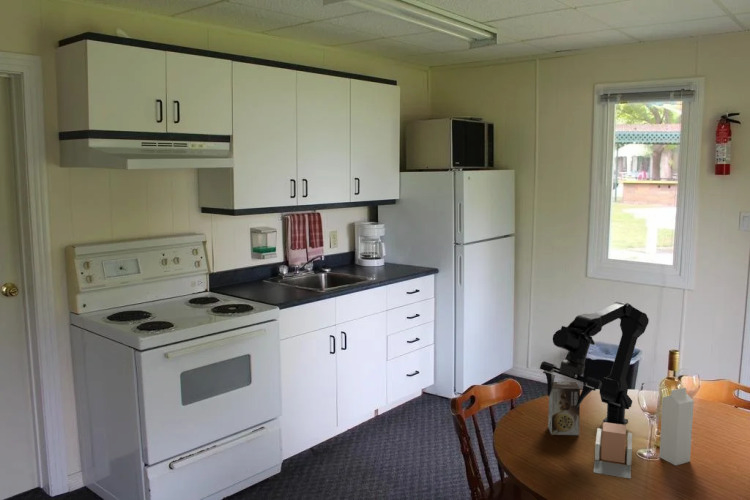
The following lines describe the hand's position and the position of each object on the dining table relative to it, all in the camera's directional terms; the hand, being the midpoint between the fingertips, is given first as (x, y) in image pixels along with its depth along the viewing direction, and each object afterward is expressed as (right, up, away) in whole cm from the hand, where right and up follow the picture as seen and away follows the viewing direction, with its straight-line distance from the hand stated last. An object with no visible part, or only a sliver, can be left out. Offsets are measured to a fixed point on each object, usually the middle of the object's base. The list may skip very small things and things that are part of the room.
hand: (562, 401), depth 199 cm
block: (+12, -15, -10) cm, 21 cm away
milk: (+30, -15, -12) cm, 35 cm away
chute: (+12, -15, -12) cm, 22 cm away
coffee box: (+3, -12, +9) cm, 15 cm away
